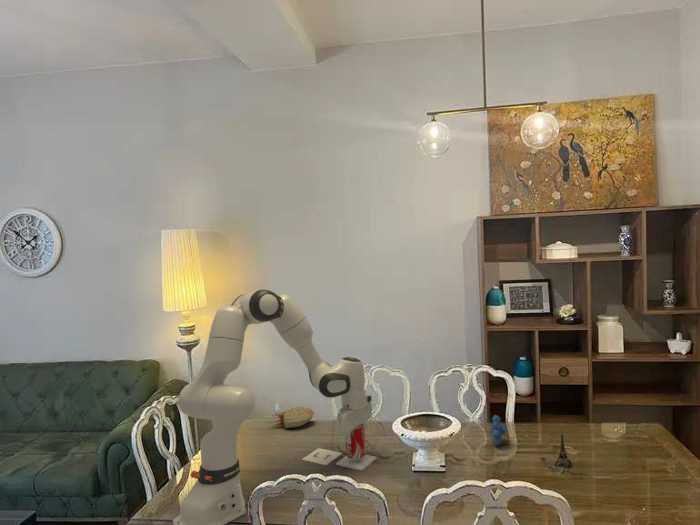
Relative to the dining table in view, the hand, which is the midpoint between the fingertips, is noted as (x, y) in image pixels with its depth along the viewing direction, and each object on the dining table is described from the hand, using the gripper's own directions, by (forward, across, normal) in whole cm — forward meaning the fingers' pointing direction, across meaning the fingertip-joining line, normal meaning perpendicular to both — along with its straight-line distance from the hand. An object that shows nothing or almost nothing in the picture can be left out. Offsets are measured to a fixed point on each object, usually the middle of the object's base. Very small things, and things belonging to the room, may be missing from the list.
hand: (355, 438), depth 186 cm
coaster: (+9, 0, 0) cm, 9 cm away
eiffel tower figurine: (+9, +28, -66) cm, 73 cm away
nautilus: (+9, +19, +45) cm, 50 cm away
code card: (+9, -2, +14) cm, 17 cm away
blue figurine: (+9, +36, -43) cm, 57 cm away
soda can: (+7, 0, 0) cm, 7 cm away
